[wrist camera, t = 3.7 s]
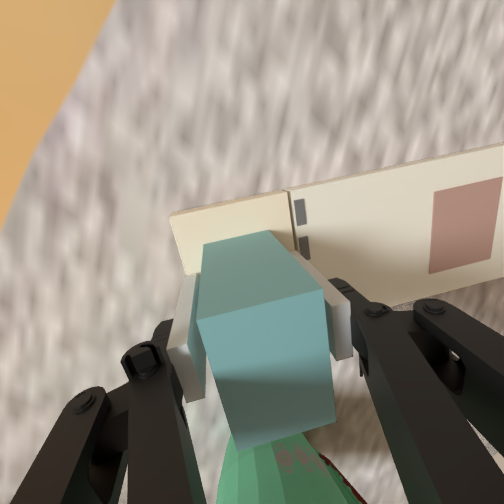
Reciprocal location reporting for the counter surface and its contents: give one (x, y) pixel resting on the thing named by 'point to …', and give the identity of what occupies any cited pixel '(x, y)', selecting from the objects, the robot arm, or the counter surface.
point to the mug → (282, 475)
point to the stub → (258, 317)
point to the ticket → (406, 225)
